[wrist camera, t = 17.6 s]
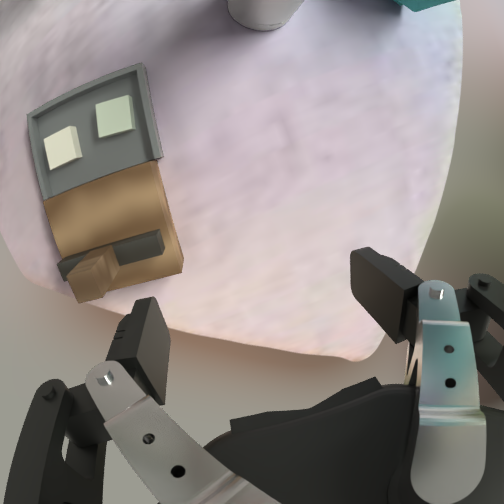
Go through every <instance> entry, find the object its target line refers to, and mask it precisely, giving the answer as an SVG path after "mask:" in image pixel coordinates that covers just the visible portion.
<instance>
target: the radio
mask: <svg viewBox="0 0 504 504" xmlns="http://www.w3.org/2000/svg"><path fill="white" fill-rule="evenodd" d="M394 1H395V2H396V3H397V4H399V5H400V6H401V5H405V6H406V7H408V8H409V9H411V10H412V11H414V12H418V11H421V10H424V9H427V8H430V7H433V6H437V5H440V4H444V3H447V2H451V1H455V0H394Z"/></svg>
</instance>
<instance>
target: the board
mask: <svg viewBox="0 0 504 504" xmlns="http://www.w3.org/2000/svg"><path fill="white" fill-rule="evenodd" d="M43 204H44V207H45V211H46V214H47V217H48V220H49V223H50V227H51V230H52V232H53V235H54V238H55V241H56V244H57V247H58V249H59V252H60V255H61V257H62V259H63V258H64V257H67V256H70V255H73V254H76V253H79V252H82V251H86V250H89V249H92V248H95V247H99V246H102V245H105V244H108V243H112V242H115V241H118V240H122V239H125V238H129V237H132V236H136V235H139V234H143V233H146V232H150V231H153V230H157V229H160V232H161V235H162V238H163V242H164V245H165V250H164V253H163V255H160V256H156V257H152V258H149V259H145V260H141V261H137V262H134V263H130V264H126V265H122V266H120V270H119V272H118V273H117V275H116V276H115V278H114V280H113V281H112V283H111V285H110V286H109V288H108V290H107V291H111V290H115V289H119V288H123V287H127V286H131V285H135V284H139V283H143V282H147V281H151V280H155V279H159V278H163V277H167V276H171V275H175V274H179V273H182V267H183V261H184V257H183V254H182V251H181V247H180V244H179V241H178V237H177V234H176V230H175V227H174V223H173V220H172V216H171V213H170V209H169V206H168V202H167V198H166V195H165V191H164V187H163V183H162V179H161V175H160V171H159V167H158V163H157V160H155V161H149V162H146V163H143V164H140V165H136V166H133V167H130V168H127V169H124V170H121V171H119V172H116V173H113V174H110V175H107V176H104V177H102V178H99V179H96V180H94V181H91V182H88V183H86V184H83V185H81V186H78V187H76V188H73V189H71V190H69V191H66V192H64V193H62V194H59V195H57V196H55V197H52V198H50V199H48V200H46V201H43ZM107 291H106V292H107Z"/></svg>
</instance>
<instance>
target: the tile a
mask: <svg viewBox="0 0 504 504" xmlns="http://www.w3.org/2000/svg"><path fill="white" fill-rule="evenodd" d="M44 144H45V149H46V154H47V158H48V163H49V167H50V170H53V169H57V168H60V167H62V166H64V165H66V164H68V163H70V162H72V161H75V160H77V159H79V158H82V153H81V148H80V144H79V139H78V134H77V129H76V127H74V126H68V127H66V128H64V129H62V130H60V131H58V132H56V133H54V134H53V135H51V136H49V137H47V138H45V139H44Z"/></svg>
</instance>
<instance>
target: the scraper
mask: <svg viewBox="0 0 504 504" xmlns="http://www.w3.org/2000/svg"><path fill="white" fill-rule="evenodd" d="M164 250H165V245H164V242H163V238H162V235H161V232H160V229H157V230H153V231H150V232H146V233H143V234H139V235H136V236H132V237H129V238H125V239H122V240H118V241H115V242H112V243H108V244H105V245H102V246H99V247H95V248H92V249H89V250H86V251H82V252H79V253H76V254H73V255H70V256H67V257H64V258H63V259H62V260H61V261H60V262H59V263H58V264H57V266H58V268H59V271H60V273H61V276H62V278H63V280H64V282H65V281H68V282H69V284H70V286H71V288H72V291H73V293H74V295H75V297H76V299H77V301H78V303H82V302H87V301H91V300H95V299H99V298H103V296H104V295H105V293H106V291H107V290H108V288H109V286H110V285H111V283H112V281H113V280H114V278H115V276H116V275H117V273H118V272H119V270H120V266H122V265H126V264H130V263H134V262H137V261H141V260H145V259H149V258H152V257H156V256H160V255H163V253H164Z"/></svg>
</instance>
